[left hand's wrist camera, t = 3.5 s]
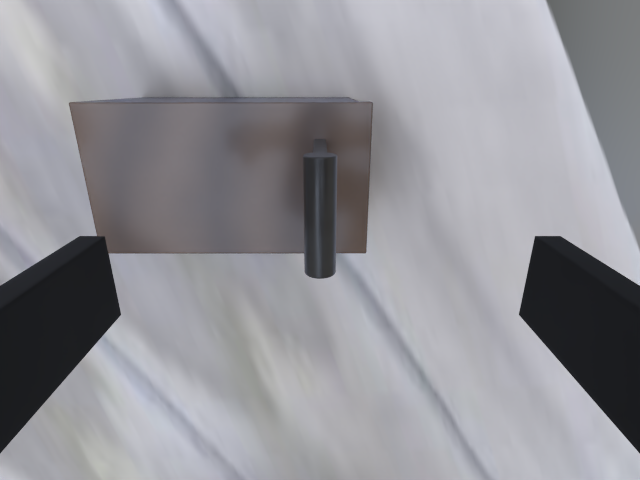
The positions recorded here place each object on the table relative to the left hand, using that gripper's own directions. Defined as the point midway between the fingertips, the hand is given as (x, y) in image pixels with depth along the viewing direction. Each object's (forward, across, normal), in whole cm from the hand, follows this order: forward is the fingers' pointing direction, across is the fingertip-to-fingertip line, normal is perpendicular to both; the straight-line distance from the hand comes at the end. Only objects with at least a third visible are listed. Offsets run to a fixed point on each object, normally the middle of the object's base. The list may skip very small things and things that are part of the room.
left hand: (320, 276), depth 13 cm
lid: (+14, +6, 0) cm, 15 cm away
